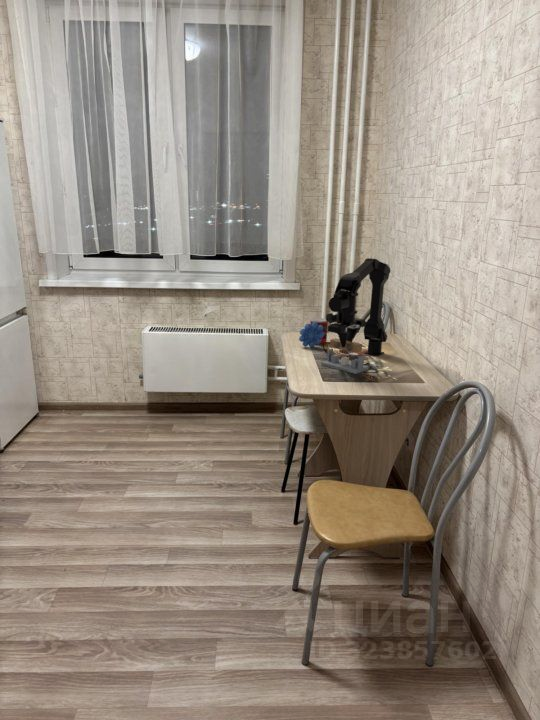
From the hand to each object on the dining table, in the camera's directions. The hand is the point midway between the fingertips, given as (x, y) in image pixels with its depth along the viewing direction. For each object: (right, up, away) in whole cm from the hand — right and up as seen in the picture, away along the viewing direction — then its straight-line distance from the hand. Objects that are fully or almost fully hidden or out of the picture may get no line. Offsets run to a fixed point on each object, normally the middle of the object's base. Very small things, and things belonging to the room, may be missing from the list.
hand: (345, 346), depth 215 cm
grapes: (-11, 0, +32) cm, 34 cm away
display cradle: (0, -8, +2) cm, 9 cm away
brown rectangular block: (0, -1, 0) cm, 1 cm away
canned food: (-8, +3, +40) cm, 41 cm away
